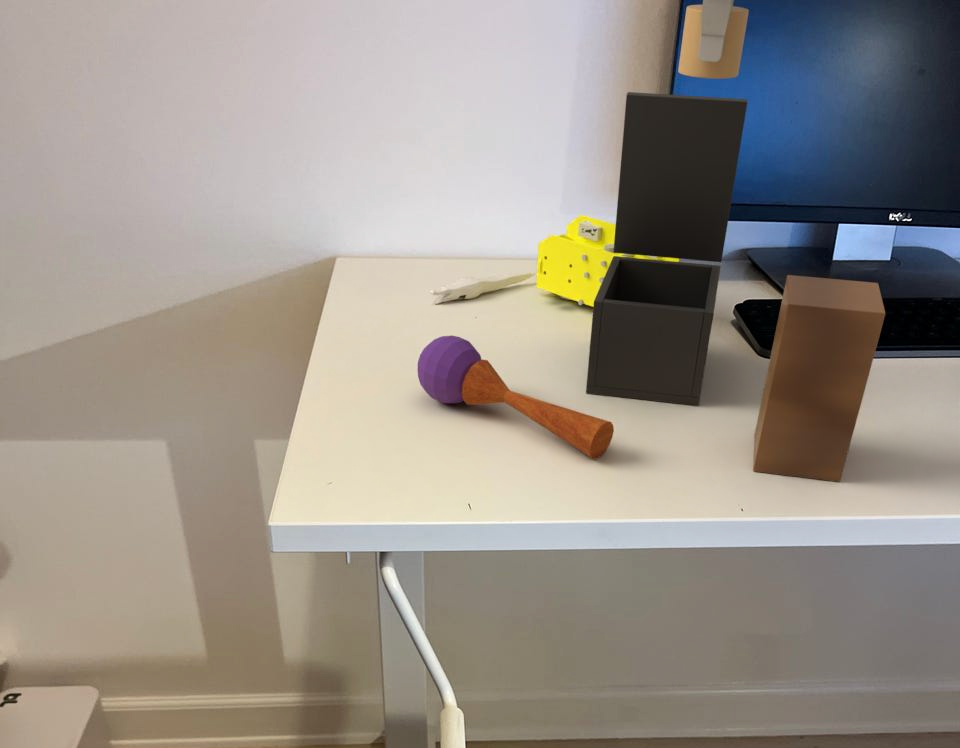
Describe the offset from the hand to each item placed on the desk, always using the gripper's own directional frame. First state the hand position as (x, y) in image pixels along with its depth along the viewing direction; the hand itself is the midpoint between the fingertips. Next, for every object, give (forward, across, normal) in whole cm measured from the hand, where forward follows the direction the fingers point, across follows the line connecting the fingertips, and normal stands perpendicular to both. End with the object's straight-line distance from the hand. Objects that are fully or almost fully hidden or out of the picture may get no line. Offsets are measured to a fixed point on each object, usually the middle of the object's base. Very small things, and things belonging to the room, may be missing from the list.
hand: (711, 55), depth 79 cm
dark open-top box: (+28, -2, -2) cm, 28 cm away
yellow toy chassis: (+28, -19, -8) cm, 35 cm away
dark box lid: (+11, -8, -2) cm, 14 cm away
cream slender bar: (+28, -20, -22) cm, 41 cm away
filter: (+1, 0, 0) cm, 1 cm away
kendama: (+28, +13, -13) cm, 33 cm away
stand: (+28, +13, +12) cm, 33 cm away
